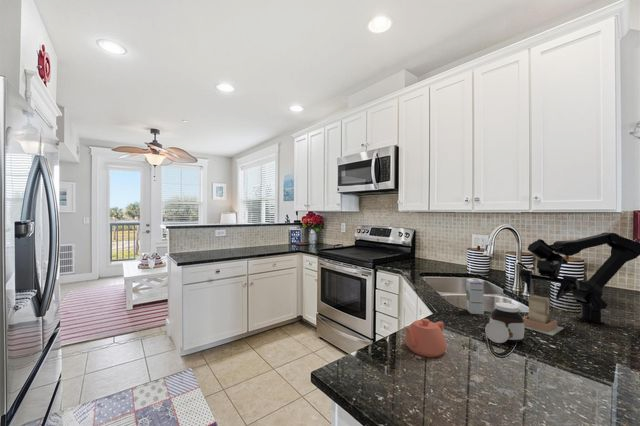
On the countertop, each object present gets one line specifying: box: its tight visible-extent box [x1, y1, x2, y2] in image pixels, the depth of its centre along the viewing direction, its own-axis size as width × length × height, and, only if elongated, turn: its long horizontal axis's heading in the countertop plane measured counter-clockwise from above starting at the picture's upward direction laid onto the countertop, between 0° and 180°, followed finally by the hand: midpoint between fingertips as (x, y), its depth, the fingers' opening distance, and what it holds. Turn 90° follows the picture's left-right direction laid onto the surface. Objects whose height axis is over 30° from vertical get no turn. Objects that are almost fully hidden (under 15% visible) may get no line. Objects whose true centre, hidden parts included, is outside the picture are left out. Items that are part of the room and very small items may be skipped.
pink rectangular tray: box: [522, 314, 564, 337], centre depth 110 cm, size 12×12×3 cm
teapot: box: [403, 318, 448, 358], centre depth 89 cm, size 12×18×10 cm
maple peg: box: [528, 294, 550, 324], centre depth 110 cm, size 5×5×11 cm
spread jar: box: [484, 302, 525, 344], centre depth 97 cm, size 12×11×12 cm
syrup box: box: [465, 278, 485, 315], centre depth 126 cm, size 6×6×14 cm
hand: (542, 296), depth 111 cm, fingers open, 9 cm apart
